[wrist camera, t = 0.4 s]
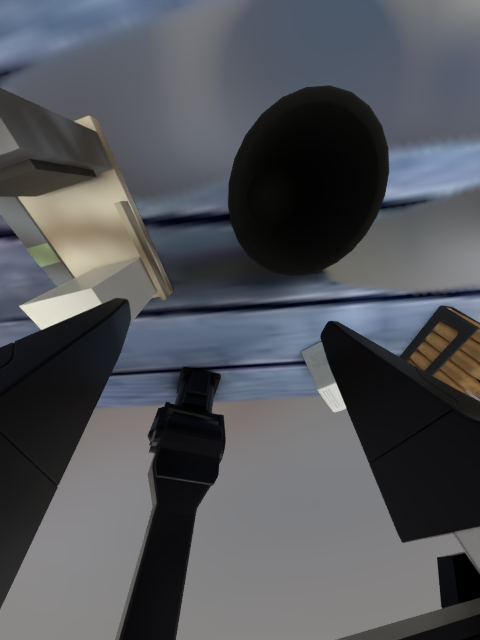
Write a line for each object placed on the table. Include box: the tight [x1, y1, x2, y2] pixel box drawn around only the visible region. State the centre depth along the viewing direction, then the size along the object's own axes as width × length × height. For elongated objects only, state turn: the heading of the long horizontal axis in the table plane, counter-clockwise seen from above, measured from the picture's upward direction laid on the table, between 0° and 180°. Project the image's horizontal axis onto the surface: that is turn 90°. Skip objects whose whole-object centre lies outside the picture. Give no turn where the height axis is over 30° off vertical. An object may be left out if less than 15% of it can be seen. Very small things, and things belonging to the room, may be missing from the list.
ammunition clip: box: [400, 306, 480, 399], centre depth 24 cm, size 11×2×12 cm, turn 171°
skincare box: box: [301, 341, 346, 412], centre depth 28 cm, size 6×6×7 cm
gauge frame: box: [0, 88, 174, 300], centre depth 17 cm, size 16×12×10 cm
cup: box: [228, 86, 389, 276], centre depth 15 cm, size 8×8×12 cm
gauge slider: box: [20, 257, 157, 330], centre depth 19 cm, size 4×10×9 cm, turn 103°
